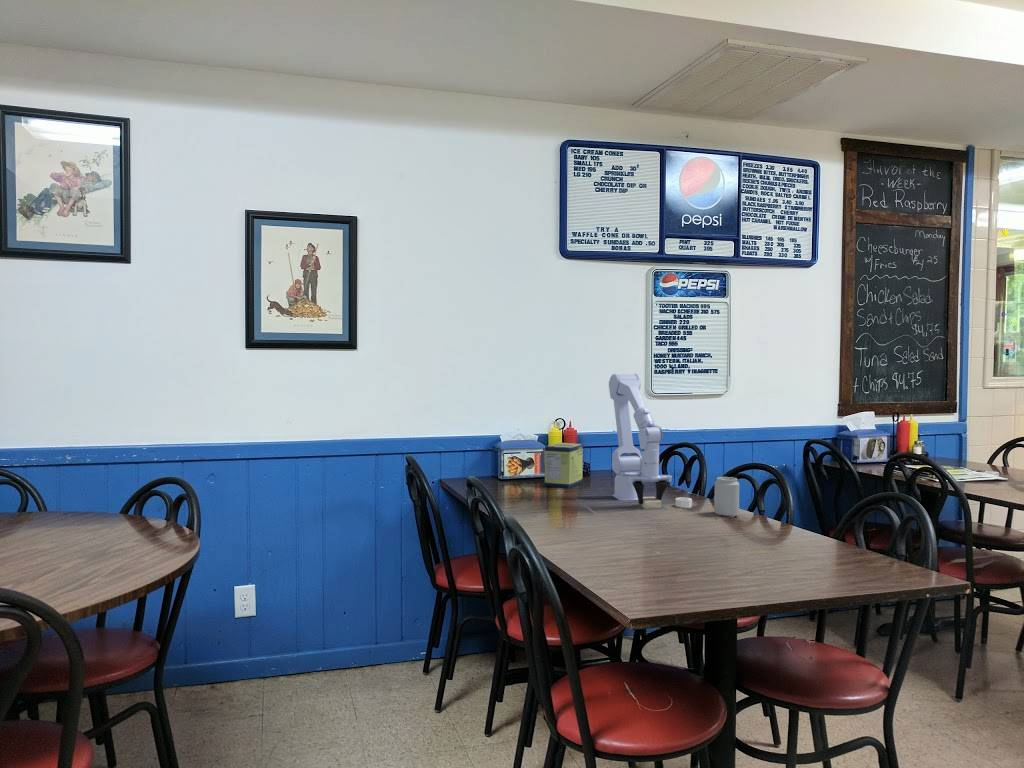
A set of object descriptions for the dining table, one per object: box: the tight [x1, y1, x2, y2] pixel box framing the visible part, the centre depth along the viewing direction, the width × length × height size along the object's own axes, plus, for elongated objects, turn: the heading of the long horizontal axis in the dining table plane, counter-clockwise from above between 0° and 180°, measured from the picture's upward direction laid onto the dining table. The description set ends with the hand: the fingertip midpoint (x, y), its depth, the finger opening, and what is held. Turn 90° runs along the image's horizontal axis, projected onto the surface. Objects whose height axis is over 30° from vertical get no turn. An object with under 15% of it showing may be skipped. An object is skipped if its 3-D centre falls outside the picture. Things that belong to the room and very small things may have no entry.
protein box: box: [544, 442, 584, 489], centre depth 294 cm, size 10×16×16 cm
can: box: [713, 476, 740, 518], centre depth 238 cm, size 8×8×12 cm
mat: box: [630, 501, 668, 511], centre depth 250 cm, size 12×9×1 cm
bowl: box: [675, 496, 693, 509], centre depth 249 cm, size 5×5×3 cm
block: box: [637, 496, 663, 509], centre depth 249 cm, size 8×6×2 cm
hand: (649, 503), depth 249 cm, fingers closed on block, 5 cm apart
